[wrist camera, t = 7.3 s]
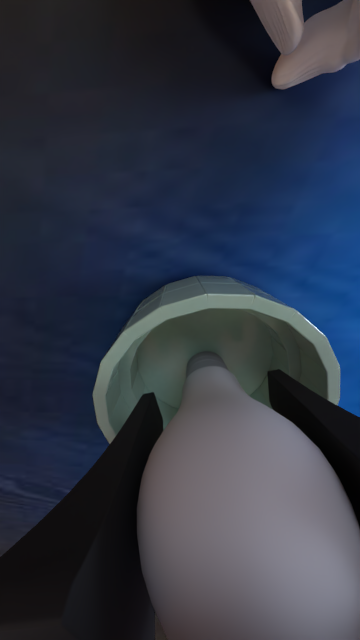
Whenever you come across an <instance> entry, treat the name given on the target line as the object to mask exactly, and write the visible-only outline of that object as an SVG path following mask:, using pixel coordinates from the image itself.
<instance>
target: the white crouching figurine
mask: <svg viewBox="0 0 360 640" xmlns="http://www.w3.org/2000/svg"><path fill="white" fill-rule="evenodd" d="M250 2H251V4H252V5H253V7H254V9H255V11H256V13H257V15H258V16H259V18H260V20H261V22H262V24H263V26H264V28H265V29H266V31H267V33H268V34H269V36H270V38H271V39H272V41H273V42H274V44H275V45H276V47H277V48H278V50H279V51H280V53H281V55H280V57H279V59H278V61H277V63H276V65H275V67H274V70H273V73H272V78H271V81H272V85H273V86H274V87H275V88H277V89H287V88H289V87H291V86H294V85H297V84H299V83H302V82H304V81H306V80H308V79H311V78H313V77H315V76H318V75H320V74H322V73H333V72H336V71H338V70H340V69H342V68H343V67H344V66H345V65H347V64H348V63H352V62H355V61H357V60H359V59H360V0H343V1H341V2H340V3H338V4H337V5H335V6H333V7H331V8H328V9H326V10H323V11H321V12H319V13H317V14H315V15H313V16H312V17H310V18H309V19H308V20H307V21H306V22H305V23H304V19H303V12H302V0H250Z"/></svg>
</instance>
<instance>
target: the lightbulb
mask: <svg viewBox="0 0 360 640" xmlns="http://www.w3.org/2000/svg"><path fill="white" fill-rule="evenodd" d="M137 538H138V546H139V554H140V562H141V568H142V574H143V577H144V580H145V583H146V587H147V590H148V593H149V597H150V600H151V603H152V606H153V608H154V610H155V612H156V615H157V617H158V619H159V621H160V623H161V626H162V628H163V630H164V632H165V634H166V637H167V638H168V640H360V527H359V524H358V521H357V518H356V515H355V512H354V509H353V506H352V504H351V502H350V500H349V498H348V496H347V494H346V492H345V489H344V487H343V485H342V483H341V481H340V479H339V478H338V476H337V474H336V473H335V471H334V469H333V468H332V466H331V465H330V463H329V462H328V460H327V459H326V458H325V456H324V455H323V453H322V452H321V450H320V449H319V448H318V447H317V446H316V445H315V444H314V443H313V442H312V441H311V440H310V439H309V438H308V437H307V436H306V435H305V434H304V433H303V432H302V431H301V430H300V429H299V428H298V427H297V426H296V425H295V424H293V423H292V422H291V421H289V420H288V419H286V418H285V417H283V416H282V415H280V414H279V413H277V412H275V411H274V410H272V409H271V408H269V407H267V406H266V405H264V404H262V403H260V402H258V401H256V400H254V399H253V398H251V397H250V396H249V395H248V394H246V392H245V391H244V390H243V388H242V387H241V386H240V384H239V382H238V380H237V379H236V377H235V376H234V375H233V374H232V373H231V372H230V371H229V370H228V368H227V366H226V364H225V363H224V361H223V359H222V358H221V357H220V356H219V355H218V354H216V353H214V352H210V351H204V352H199V353H197V354H195V355H194V356H192V357H191V358H190V360H189V361H188V363H187V370H186V380H185V382H184V385H183V389H182V401H181V405H180V407H179V410H178V412H177V413H176V415H175V416H174V417H173V418H172V420H171V421H170V422H169V423H168V425H167V426H166V428H165V429H164V431H163V432H162V434H161V436H160V437H159V439H158V440H157V442H156V443H155V445H154V447H153V449H152V451H151V453H150V455H149V458H148V461H147V463H146V466H145V469H144V472H143V475H142V479H141V484H140V490H139V497H138V503H137Z"/></svg>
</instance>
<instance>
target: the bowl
mask: <svg viewBox="0 0 360 640" xmlns="http://www.w3.org/2000/svg"><path fill="white" fill-rule="evenodd" d="M204 351H210V352H214V353H216V354H218V355H219V356H220V357H221V358H222V359H223V361H224V363H225V364H226V366H227V368H228V370H229V371H230V372H231V373H232V374H233V375H234V376H235V377H236V379H237V380H238V382H239V384H240V386H241V387H242V388H243V390H244V391H245V392H246V394H248V395H249V396H250V397H251V398H253V399H254V400H256V401H258V402H260V403H262V404H264V405H266V406H267V407H269V408H271V409H272V407H271V404H270V402H269V390H268V375H267V371H272V370H277V369H280V370H281V371H283V372H284V373H286V374H287V375H289V376H290V377H292V378H293V379H295V380H296V381H298V382H300V383H301V384H303V385H304V386H306V387H307V388H309V389H310V390H312V391H314V392H315V393H317V394H318V395H320V396H322V397H323V398H325V399H327V400H328V401H330V402H332V403H334V404H335V405H338V402H339V398H340V366H339V364H338V361H337V359H336V357H335V355H334V353H333V350H332V348H331V346H330V344H329V342H328V339H327V337H326V336H325V335H324V334H323V333H322V332H321V331H320V330H319V329H318V328H316V327H315V326H314V325H313V324H312V323H311V322H310V321H308V320H307V319H306V318H305V317H304V316H303V315H302V314H300V313H299V312H298V311H297V310H295V309H293V308H292V307H290V306H288V305H286V304H285V303H283V302H281V301H280V300H278V299H276V298H274V297H273V296H271V295H269V294H267V293H266V292H264V291H262V290H261V289H259V288H257V287H255V286H252V285H250V284H247V283H244V282H242V281H239V280H236V279H234V278H231V277H227V276H193V277H190V278H186V279H183V280H180V281H176V282H173V283H170V284H167V285H165V286H163V287H162V288H160V289H159V290H157V291H156V292H155V293H153V294H152V295H150V296H149V297H147V298H146V299H144V300H143V301H142V302H141V303H140V304H139V306H138V307H137V308H136V310H135V311H134V312H133V314H132V315H131V317H130V318H129V319H128V321H127V322H126V324H125V325H124V327H123V328H122V330H121V331H120V333H119V334H118V336H117V337H116V339H115V341H114V342H113V344H112V345H111V347H110V348H109V350H108V351H107V353H106V354H105V356H104V358H103V359H102V361H101V363H100V367H99V371H98V375H97V379H96V383H95V387H94V391H93V400H94V406H95V412H96V418H97V424H98V426H99V427H100V429H101V431H102V432H103V434H104V436H105V437H106V439H107V440H108V442H109V444H110V443H111V442H112V441H113V439H114V438H115V436H116V435H117V434H118V432H119V431H120V429H121V428H122V426H123V425H124V423H125V422H126V420H127V419H128V417H129V415H130V414H131V412H132V411H133V409H134V407H135V406H136V404H137V402H138V401H139V399H140V398H141V396H142V395H143V394H145V393H151V392H154V394H155V397H156V400H157V403H158V406H159V409H160V412H161V415H162V418H163V431H164V429H165V428H166V426H167V425H168V423H169V422H170V421H171V420H172V418H173V417H174V416H175V415H176V413H177V412H178V410H179V407H180V405H181V401H182V389H183V385H184V382H185V380H186V370H187V363H188V361H189V360H190V358H191V357H192V356H194V355H195V354H197V353H199V352H204ZM272 410H273V409H272Z"/></svg>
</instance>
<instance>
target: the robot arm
mask: <svg viewBox="0 0 360 640" xmlns="http://www.w3.org/2000/svg"><path fill="white" fill-rule="evenodd" d="M267 375H268V390H269V402H270V404H271V407H272V409H273V410H274V411H275V412H277V413H279V414H280V415H282V416H283V417H285V418H286V419H288V420H289V421H291V422H292V423H293V424H295V425H296V426H297V427H298V428H299V429H300V430H301V431H302V432H303V433H304V434H305V435H306V436H307V437H308V438H309V439H310V440H311V441H312V442H313V443H314V444H315V445H316V446H317V447H318V448H319V449H320V450H321V452H322V453H323V455H324V456H325V458H326V459H327V460H328V462H329V463H330V465H331V466H332V468H333V469H334V471H335V473H336V474H337V476H338V478H339V479H340V481H341V483H342V485H343V487H344V489H345V492H346V494H347V496H348V498H349V500H350V502H351V504H352V506H353V509H354V512H355V515H356V518H357V521H358V524H359V527H360V417H358V416H356V415H354V414H352V413H350V412H348V411H346V410H344V409H342V408H341V407H339V406H337V405H335V404H334V403H332V402H330V401H328V400H327V399H325V398H323V397H322V396H320V395H318V394H317V393H315V392H314V391H312V390H310V389H309V388H307V387H306V386H304V385H303V384H301V383H300V382H298V381H296V380H295V379H293V378H292V377H290V376H289V375H287V374H286V373H284V372H283V371H281V370H280V369H277V370H272V371H267ZM162 432H163V418H162V415H161V412H160V409H159V406H158V403H157V400H156V397H155V394H154V392H151V393H145V394H143V395H142V396H141V398H140V399H139V401H138V402H137V404H136V406H135V407H134V409H133V411H132V412H131V414H130V415H129V417H128V419H127V420H126V422H125V423H124V425H123V426H122V428H121V429H120V431H119V432H118V434H117V435H116V436H115V438H114V439H113V441H112V442H111V443H110V445H109V446H108V448H107V449H106V450H105V452H104V453H103V454H102V455H101V457H100V458H99V459H98V460H97V462H96V463H95V464H94V465H93V467H92V468H91V469H90V470H89V471H88V472H87V474H86V475H85V476H84V477H83V478H82V479H81V480H80V481H79V482H78V483H77V484H76V486H75V487H74V488H73V489H72V490H71V491H70V492H69V493H68V494H67V495H66V496H65V497H64V498H63V499H62V500H61V501H60V502H59V503H58V504H57V505H56V506H55V507H54V508H53V509H52V510H51V511H50V512H49V513H48V514H47V515H46V516H45V517H44V518H43V519H42V520H41V521H40V522H39V523H38V524H37V525H36V526H35V527H34V528H33V529H31V530H30V531H29V532H28V533H27V534H26V535H25V536H24V537H22V538H21V539H20V540H19V541H18V542H17V543H16V544H15V545H14V546H12V547H11V548H10V549H9V550H8V551H7V552H6V553H5V554H3V555H2V556H1V557H0V640H155V610H154V608H153V606H152V603H151V600H150V597H149V593H148V590H147V587H146V583H145V580H144V577H143V574H142V568H141V562H140V554H139V546H138V538H137V503H138V497H139V490H140V484H141V479H142V475H143V472H144V469H145V466H146V463H147V461H148V458H149V455H150V453H151V451H152V449H153V447H154V445H155V443H156V442H157V440H158V439H159V437H160V436H161V434H162Z"/></svg>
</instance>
